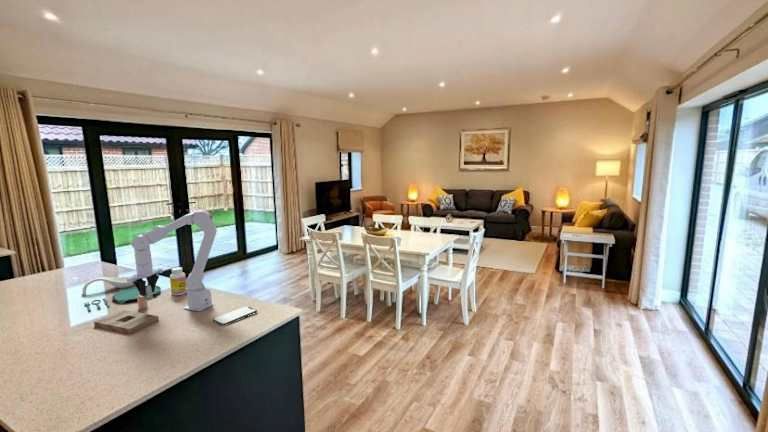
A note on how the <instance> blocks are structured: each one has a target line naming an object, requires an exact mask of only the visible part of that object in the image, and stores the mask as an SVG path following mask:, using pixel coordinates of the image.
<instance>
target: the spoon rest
mask: <svg viewBox="0 0 768 432" xmlns="http://www.w3.org/2000/svg"><path fill="white" fill-rule="evenodd" d="M129 277H130V276H119V277H118V276H117V277H116V276H115V277H111V276H100V277H99V276H98V277H95V278H92V279H89V280H88V281H87V282H86V283H84V285H83V287H82V295H83V296H85V295H86V294H87V289H88V286H89V285H91V284H92V283H95V282H99V281H101V282H104V283H105V282H106V283H108V284H109V285H112V286H113V287H115V288H117V289H126V288H127V289H128V288H132V287H133V286H135V285H134V284H133V283H127V278H129Z"/></svg>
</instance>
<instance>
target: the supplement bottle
mask: <svg viewBox="0 0 768 432" xmlns="http://www.w3.org/2000/svg"><path fill="white" fill-rule="evenodd" d="M169 279H170V281H169V282H170V290H171V291H170V293H171V295H172V296H176V297H177V296H183V295H185V294H187V289H186V288H187V287H186V284H185V283H186V280H187V279H186V273H185V272H183V267H181V266H177V267H173V268H171V274H170V275H169Z"/></svg>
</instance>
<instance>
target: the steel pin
mask: <svg viewBox="0 0 768 432" xmlns="http://www.w3.org/2000/svg"><path fill="white" fill-rule="evenodd" d="M145 292H146V295H145V296H143V299H144V300H147V301H148V300H150V299H151V300H152V299H153V297H154V295H153V294H152V286H151V283H148V282H146V284H145Z"/></svg>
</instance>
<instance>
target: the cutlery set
mask: <svg viewBox="0 0 768 432" xmlns="http://www.w3.org/2000/svg"><path fill="white" fill-rule="evenodd" d="M160 293H161V287H160V286H158V285H156V286H155V291H154V292H153V293H152V294H153V296H154V295H158V294H160ZM138 295H140V293H139V291H138V289H137V287H136V286H135V287H129V288H127V289H122V290H120V291H117V292H116V293H114V294H113V295H112V298H111V299H112V300H114V302H115V301H116V302H117V303H119V304H120V305H121V304H125V303H126V302H130V301H137V296H138ZM102 300H103V302H104V304H105V305H106V306H107V309H108V308H110V305H109V304H108V301H107V299H106V298H105V297H103V298H102ZM100 303H101V299H94V300H92V301H91V303H90V302H84V307H86V308H87V310H88V312H89V313H90V312H92V310H91V308H90V306H91V304H92V305H96V306H97V308H98V310H101V309H102V308H101V306H100V305H99V304H100Z"/></svg>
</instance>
